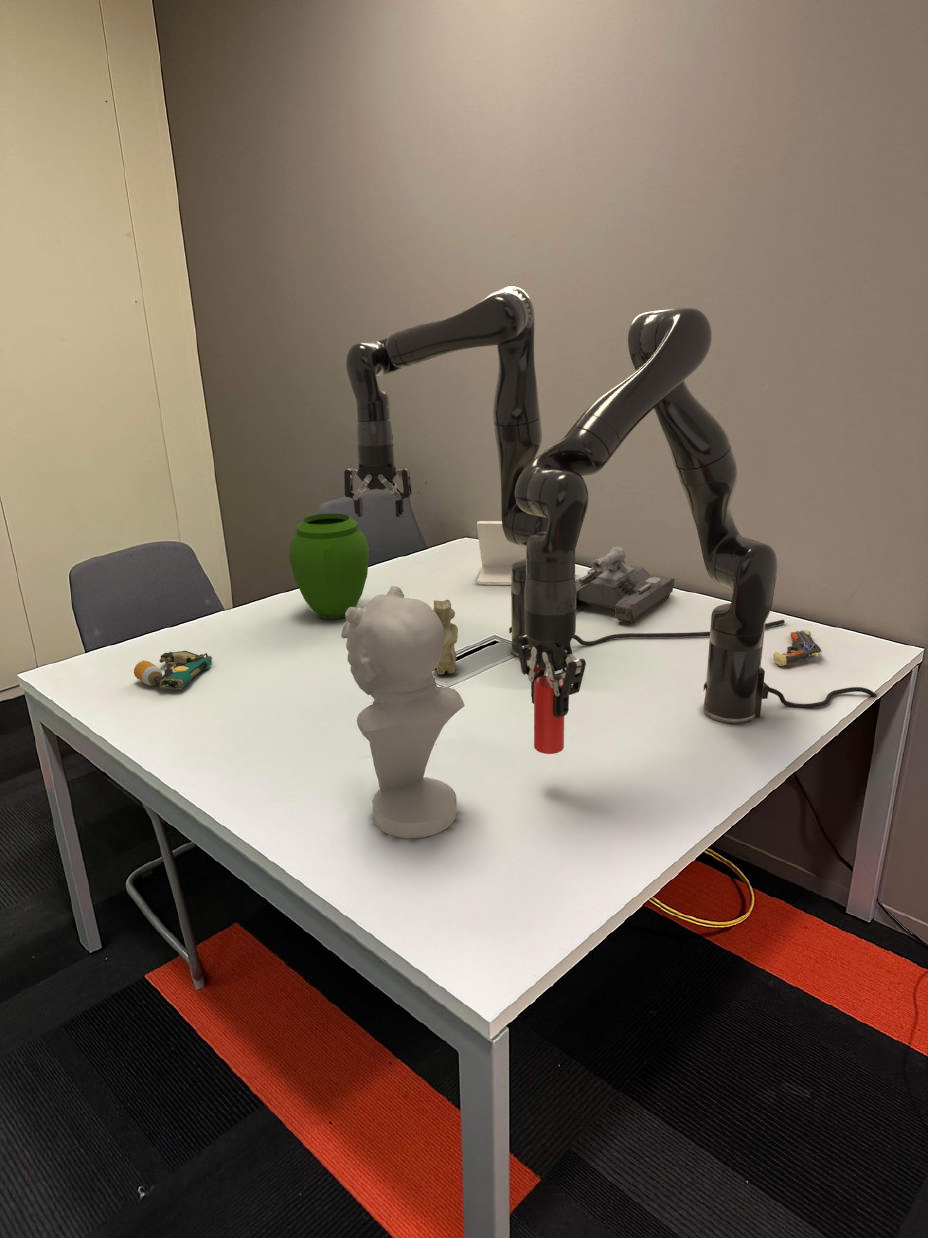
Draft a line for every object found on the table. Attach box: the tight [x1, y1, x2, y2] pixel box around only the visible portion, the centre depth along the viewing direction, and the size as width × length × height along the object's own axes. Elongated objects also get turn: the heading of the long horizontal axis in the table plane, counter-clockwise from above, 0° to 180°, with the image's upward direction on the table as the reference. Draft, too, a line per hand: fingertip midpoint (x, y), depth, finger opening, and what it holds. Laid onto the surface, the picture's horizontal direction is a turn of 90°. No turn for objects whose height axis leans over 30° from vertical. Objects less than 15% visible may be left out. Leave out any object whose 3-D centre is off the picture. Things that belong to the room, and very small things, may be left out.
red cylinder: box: [533, 675, 565, 755], centre depth 131 cm, size 5×5×11 cm
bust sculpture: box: [340, 585, 465, 839], centre depth 128 cm, size 16×24×35 cm, turn 28°
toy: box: [575, 546, 676, 624], centre depth 212 cm, size 25×20×15 cm
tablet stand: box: [476, 520, 526, 586], centre depth 236 cm, size 18×25×17 cm
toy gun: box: [772, 630, 823, 667], centre depth 183 cm, size 3×19×10 cm
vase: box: [288, 512, 370, 620], centre depth 209 cm, size 20×20×24 cm
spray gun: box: [133, 650, 213, 690], centre depth 180 cm, size 4×17×15 cm
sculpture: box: [433, 599, 459, 675], centre depth 177 cm, size 6×7×15 cm
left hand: (379, 516), depth 186 cm, fingers open, 8 cm apart
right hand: (549, 708), depth 130 cm, fingers closed on red cylinder, 4 cm apart
